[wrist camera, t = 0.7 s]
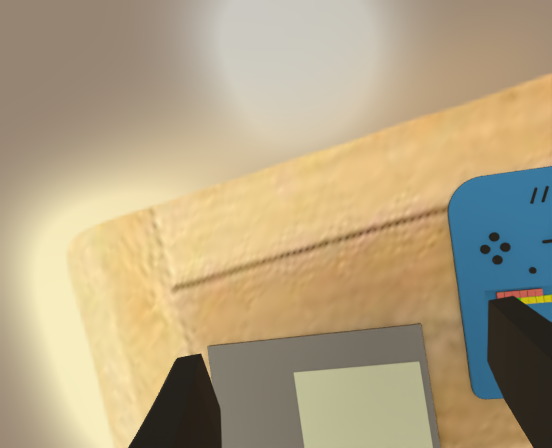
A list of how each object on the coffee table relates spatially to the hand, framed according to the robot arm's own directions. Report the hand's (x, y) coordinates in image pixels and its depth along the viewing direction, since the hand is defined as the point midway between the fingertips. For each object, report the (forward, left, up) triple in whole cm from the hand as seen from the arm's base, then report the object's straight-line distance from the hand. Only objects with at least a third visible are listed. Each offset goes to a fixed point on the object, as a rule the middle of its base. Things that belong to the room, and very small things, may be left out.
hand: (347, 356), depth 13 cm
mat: (-13, +6, -25) cm, 29 cm away
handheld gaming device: (-1, -9, -25) cm, 27 cm away
